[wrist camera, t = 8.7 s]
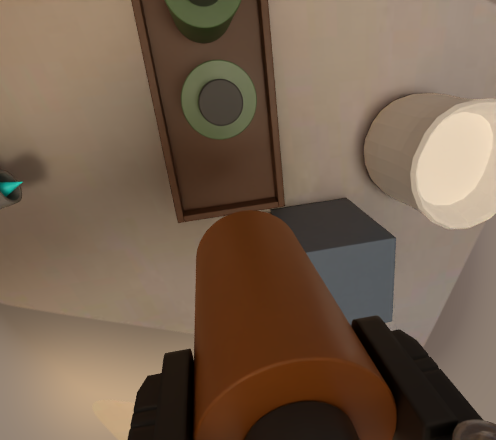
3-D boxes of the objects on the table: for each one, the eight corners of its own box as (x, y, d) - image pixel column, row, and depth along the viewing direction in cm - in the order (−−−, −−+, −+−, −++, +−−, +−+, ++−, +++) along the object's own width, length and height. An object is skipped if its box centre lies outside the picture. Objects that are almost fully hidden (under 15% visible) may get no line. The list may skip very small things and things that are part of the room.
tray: (179, 215, 35) (178, 223, 33) (125, -43, 27) (120, -53, 25) (280, 199, 35) (285, 206, 33) (258, -57, 27) (262, -67, 25)
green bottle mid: (191, 127, 31) (187, 150, 21) (181, 69, 29) (171, 62, 19) (244, 120, 32) (265, 139, 21) (238, 62, 30) (257, 52, 20)
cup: (436, 72, 33) (525, 69, 24) (460, 165, 36) (546, 193, 28) (344, 122, 33) (397, 138, 24) (377, 208, 37) (434, 249, 28)
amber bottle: (205, 309, 17) (212, 645, 7) (187, 219, 15) (162, 493, 5) (301, 293, 17) (443, 588, 7) (295, 202, 16) (472, 426, 5)
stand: (277, 277, 39) (301, 338, 29) (270, 209, 36) (294, 254, 26) (347, 265, 39) (392, 321, 30) (346, 197, 36) (396, 237, 27)
